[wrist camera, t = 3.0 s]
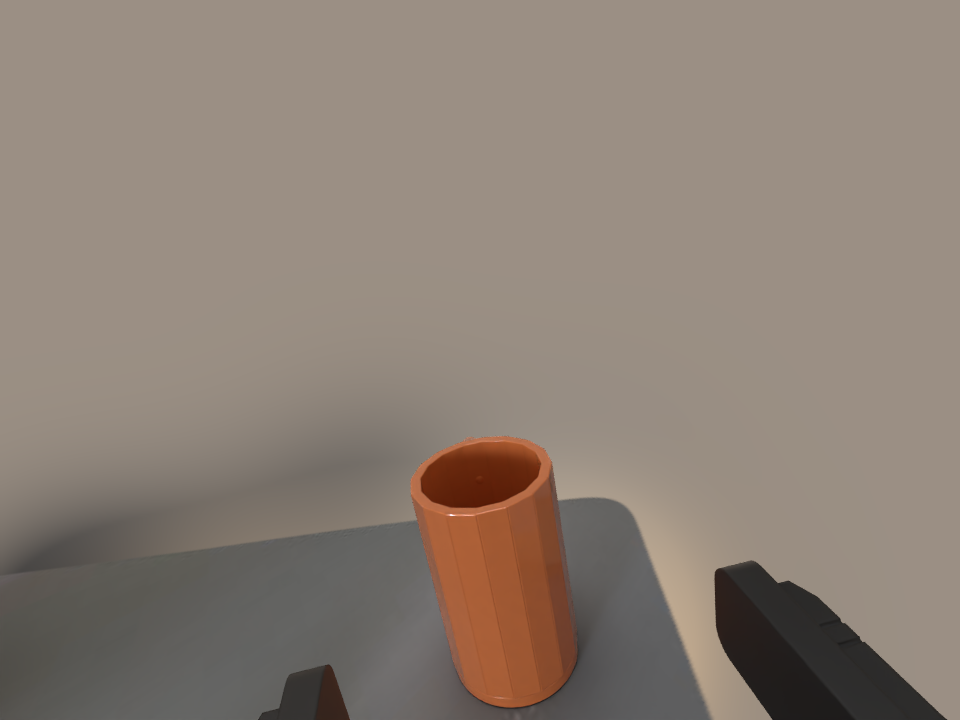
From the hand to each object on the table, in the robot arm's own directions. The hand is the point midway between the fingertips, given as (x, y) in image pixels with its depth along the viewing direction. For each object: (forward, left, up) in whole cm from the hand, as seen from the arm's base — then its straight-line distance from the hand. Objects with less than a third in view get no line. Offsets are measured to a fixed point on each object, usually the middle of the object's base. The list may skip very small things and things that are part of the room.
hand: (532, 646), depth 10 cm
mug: (+10, -8, -12) cm, 18 cm away
